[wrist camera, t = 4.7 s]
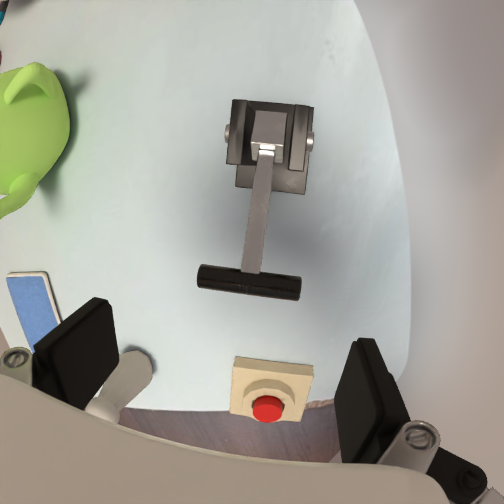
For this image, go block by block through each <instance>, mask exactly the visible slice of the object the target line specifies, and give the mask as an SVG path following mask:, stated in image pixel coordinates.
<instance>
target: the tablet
mask: <svg viewBox="0 0 504 504" xmlns="http://www.w3.org/2000/svg"><path fill="white" fill-rule="evenodd" d="M6 281H7V285H8V288H9V291H10V295H11V298H12V301H13V304H14V307H15V310H16V312H17V315H18V318H19V321H20V323H21V326H22V329H23V331H24V334H25V336H26V339H27V341H28V344H29V346H30V348H31V351H32V353H34V352H35V351H34V348H33V345H34V344H36V343H37V342H38V341H39V340H40V339H42V338H43V337H44V336H45V335H46V334H48V333H49V332H50V331H51V330H53V329H54V328H55V327H56V326H58V325H59V324H60V323H61V322H60V319H59V316H58V313H57V310H56V307H55V303H54V300H53V296H52V293H51V289H50V285H49V281H48V277H47V275H46V273H44V272H24V273H9V274H7V275H6Z"/></svg>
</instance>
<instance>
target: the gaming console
mask: <svg viewBox="0 0 504 504" xmlns="http://www.w3.org/2000/svg"><path fill="white" fill-rule="evenodd" d="M8 1H9V0H5V1H0V24H1V22H2V20H3V17H4V14H5V13H4V12H5V11H6V7H7V4H8Z"/></svg>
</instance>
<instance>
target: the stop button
mask: <svg viewBox="0 0 504 504" xmlns="http://www.w3.org/2000/svg"><path fill="white" fill-rule="evenodd" d="M253 416H254V417H255V418H256V419H257V420H259V421H261V422H266V423H270V422H275V421H277V420H279V419H280V418H281V416H282V402H281V400H280V399H279V398H277V397H275V396H270V395H264V396H260V397H258V398H257V399H256V400H255V402H254V407H253Z"/></svg>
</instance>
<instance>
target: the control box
mask: <svg viewBox="0 0 504 504" xmlns="http://www.w3.org/2000/svg"><path fill="white" fill-rule="evenodd" d="M313 377H314V373H313V366H311V365H300V364H290V363H281V362H272V361H264V360H257V359H250V358H243V357H236V358H235V362H234V365H233V374H232V387H231V399H230V412H229V413H232V414H238V415H245V416H250V417H252V418H253V419H255V420H257V419H256V418H255V417H254V416H253V407H254V402H255V400H256V399H257V398H258V397H260V396H264V395H270V396H275V397H277V398H279V399H280V400H281V402H282V416H281V418H280V419H279V420H277V421H281V420H287V421H299V422H300V420H301V417H302V414H303V411H304V408H305V404H306V401H307V398H308V394H309V391H310V388H311V384H312V381H313ZM257 421H259V420H257ZM275 422H276V421H275Z"/></svg>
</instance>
